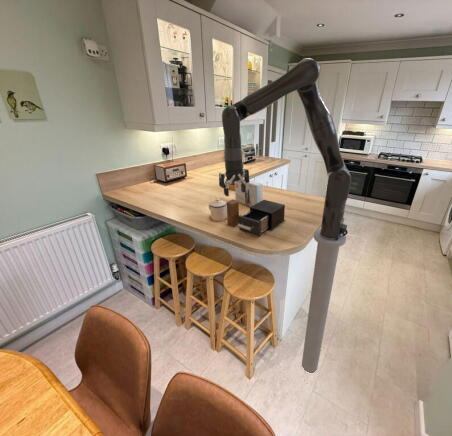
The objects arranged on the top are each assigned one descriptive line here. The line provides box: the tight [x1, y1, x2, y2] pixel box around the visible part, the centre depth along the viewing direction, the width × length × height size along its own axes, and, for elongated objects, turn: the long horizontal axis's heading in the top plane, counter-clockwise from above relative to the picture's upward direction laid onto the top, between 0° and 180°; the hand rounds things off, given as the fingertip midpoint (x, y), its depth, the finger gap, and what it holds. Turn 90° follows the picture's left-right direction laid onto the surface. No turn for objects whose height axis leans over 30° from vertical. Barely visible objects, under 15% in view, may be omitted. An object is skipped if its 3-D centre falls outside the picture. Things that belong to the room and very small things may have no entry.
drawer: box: [237, 210, 271, 238], centre depth 116 cm, size 16×12×8 cm
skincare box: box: [234, 177, 264, 208], centre depth 148 cm, size 21×5×16 cm, turn 45°
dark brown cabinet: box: [249, 199, 286, 231], centre depth 126 cm, size 14×14×10 cm
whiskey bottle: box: [228, 161, 245, 191], centre depth 172 cm, size 10×10×32 cm
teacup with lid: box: [208, 197, 227, 222], centre depth 131 cm, size 12×9×12 cm
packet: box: [225, 198, 240, 227], centre depth 123 cm, size 4×5×13 cm
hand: (235, 193), depth 106 cm, fingers open, 8 cm apart
